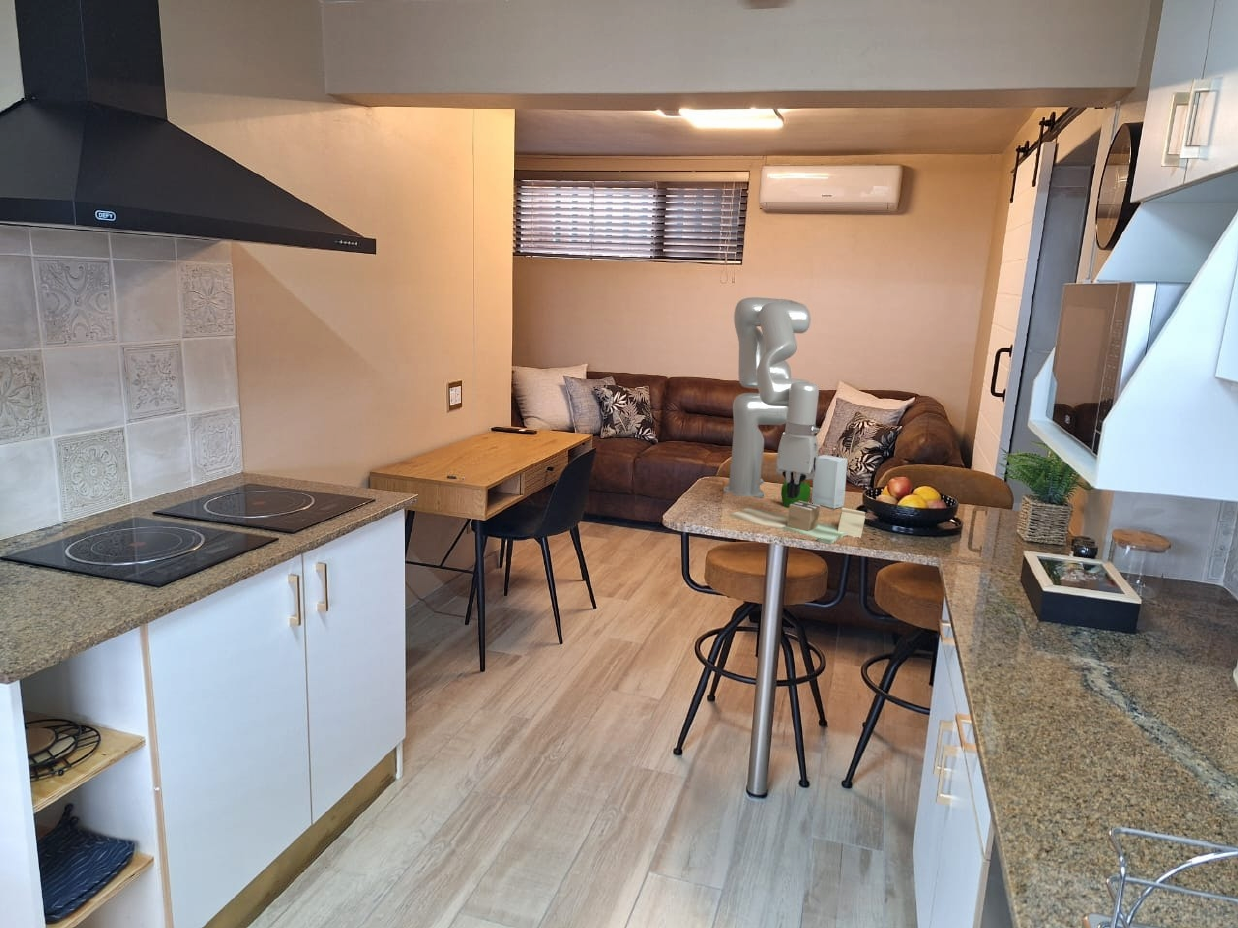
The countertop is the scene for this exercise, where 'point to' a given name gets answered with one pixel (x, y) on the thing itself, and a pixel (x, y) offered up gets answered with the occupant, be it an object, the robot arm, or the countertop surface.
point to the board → (780, 521)
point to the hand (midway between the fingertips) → (792, 497)
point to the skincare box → (829, 482)
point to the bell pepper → (802, 496)
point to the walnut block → (803, 515)
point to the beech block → (851, 522)
